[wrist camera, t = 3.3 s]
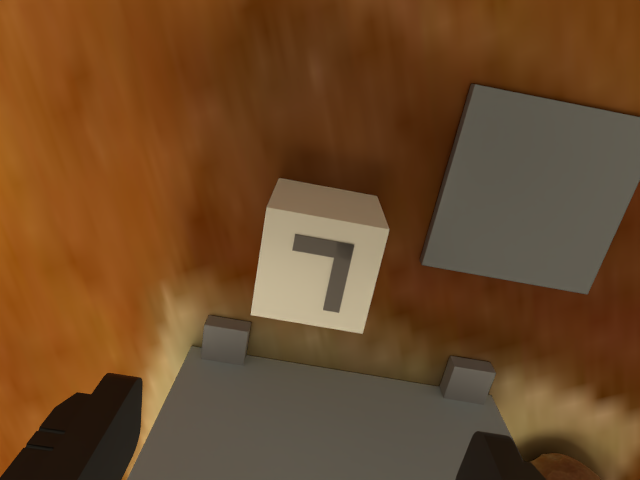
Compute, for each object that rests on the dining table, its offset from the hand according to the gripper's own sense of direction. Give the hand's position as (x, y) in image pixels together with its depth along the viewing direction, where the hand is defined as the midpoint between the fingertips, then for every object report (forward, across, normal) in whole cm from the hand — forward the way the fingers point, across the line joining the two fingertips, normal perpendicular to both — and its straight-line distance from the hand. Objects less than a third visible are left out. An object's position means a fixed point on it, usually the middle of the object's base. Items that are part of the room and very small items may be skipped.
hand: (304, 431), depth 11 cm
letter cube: (+14, 0, 0) cm, 14 cm away
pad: (+14, -10, -4) cm, 17 cm away
